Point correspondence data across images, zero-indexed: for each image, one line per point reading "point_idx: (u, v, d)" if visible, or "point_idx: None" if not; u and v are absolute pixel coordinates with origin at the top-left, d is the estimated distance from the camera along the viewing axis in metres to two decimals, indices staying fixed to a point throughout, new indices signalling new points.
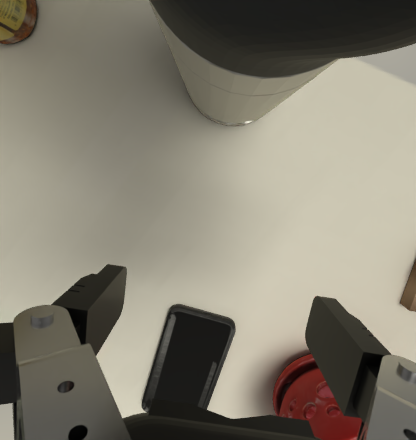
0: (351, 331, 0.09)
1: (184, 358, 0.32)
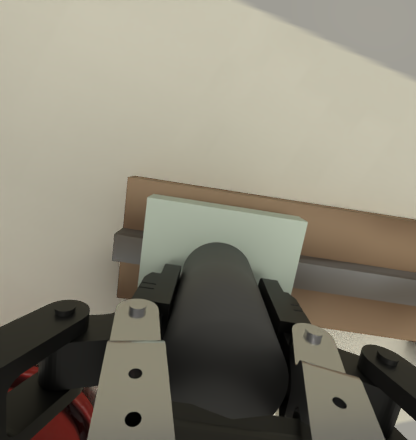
0: (277, 305, 0.10)
1: None
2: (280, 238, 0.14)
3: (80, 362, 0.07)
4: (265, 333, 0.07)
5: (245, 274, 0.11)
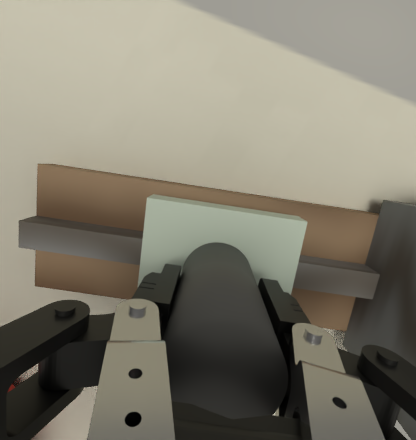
0: (277, 305, 0.10)
1: None
2: (280, 238, 0.14)
3: (80, 362, 0.07)
4: (264, 333, 0.07)
5: (245, 274, 0.11)
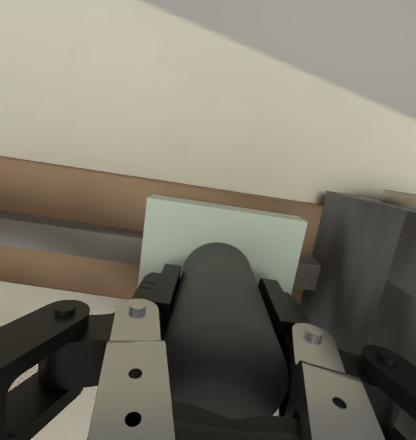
0: (277, 305, 0.10)
1: None
2: (280, 238, 0.14)
3: (80, 362, 0.07)
4: (265, 333, 0.07)
5: (245, 274, 0.11)
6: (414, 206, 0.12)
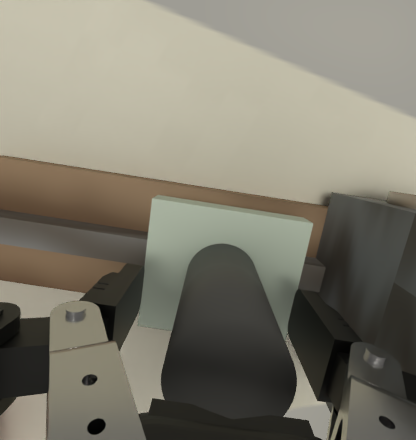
0: (326, 321, 0.09)
1: None
2: (285, 239, 0.14)
3: (15, 365, 0.07)
4: (273, 337, 0.07)
5: (251, 276, 0.11)
6: None
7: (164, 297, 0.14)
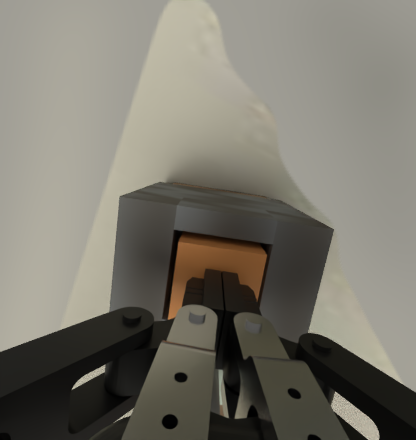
0: (228, 296, 0.10)
1: None
2: None
3: (140, 372, 0.07)
4: None
5: None
6: None
7: None
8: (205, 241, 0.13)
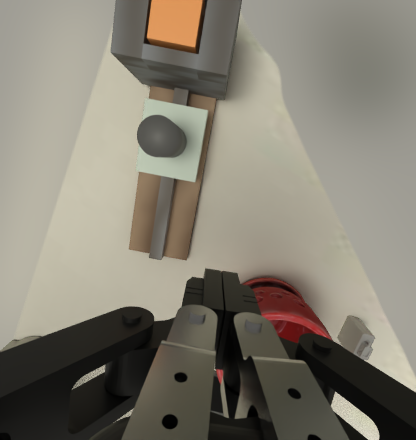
0: (228, 296, 0.10)
1: None
2: (152, 110, 0.30)
3: (140, 372, 0.07)
4: (141, 122, 0.24)
5: None
6: None
7: (180, 168, 0.32)
8: None
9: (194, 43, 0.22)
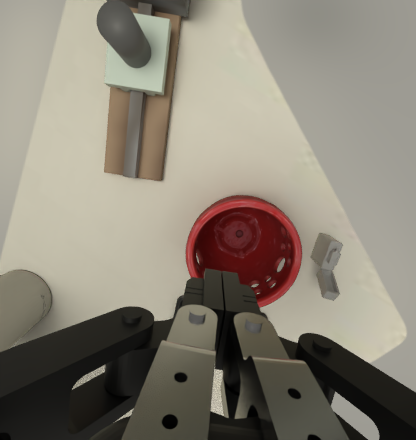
0: (228, 296, 0.10)
1: None
2: None
3: (140, 372, 0.07)
4: (100, 8, 0.26)
5: None
6: None
7: (147, 78, 0.33)
8: None
9: None
